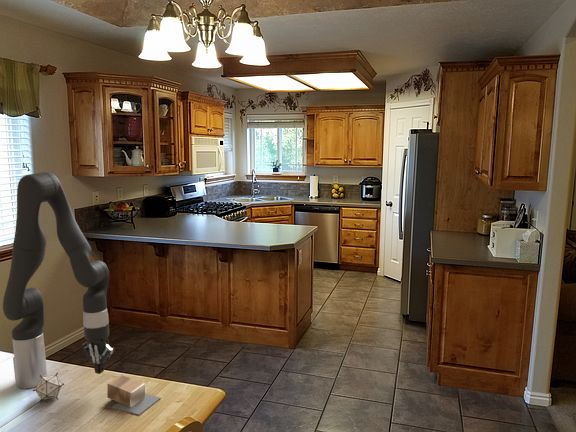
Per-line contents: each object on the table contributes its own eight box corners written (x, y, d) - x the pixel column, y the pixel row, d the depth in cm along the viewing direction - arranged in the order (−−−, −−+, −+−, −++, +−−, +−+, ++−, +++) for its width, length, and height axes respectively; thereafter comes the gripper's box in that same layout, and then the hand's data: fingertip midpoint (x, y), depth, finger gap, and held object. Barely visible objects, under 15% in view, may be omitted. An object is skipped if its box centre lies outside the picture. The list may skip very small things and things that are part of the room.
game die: (52, 411, 144) (47, 398, 138) (30, 400, 146) (23, 387, 139) (72, 387, 151) (67, 373, 144) (50, 376, 152) (45, 362, 145)
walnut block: (107, 383, 142) (131, 393, 138) (121, 374, 148) (145, 383, 144) (107, 397, 143) (131, 407, 139) (121, 388, 149) (144, 397, 145)
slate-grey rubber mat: (111, 407, 140) (111, 406, 140) (134, 391, 149) (134, 390, 149) (139, 415, 136) (139, 414, 136) (160, 398, 145) (160, 397, 145)
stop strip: (105, 408, 140) (105, 405, 140) (133, 389, 151) (132, 386, 151) (109, 409, 139) (109, 406, 139) (136, 390, 150) (136, 387, 150)
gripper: (71, 323, 144) (75, 373, 147) (102, 330, 139) (105, 382, 141) (90, 315, 151) (93, 363, 153) (120, 321, 145) (123, 371, 148)
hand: (99, 372), depth 147 cm, fingers closed
